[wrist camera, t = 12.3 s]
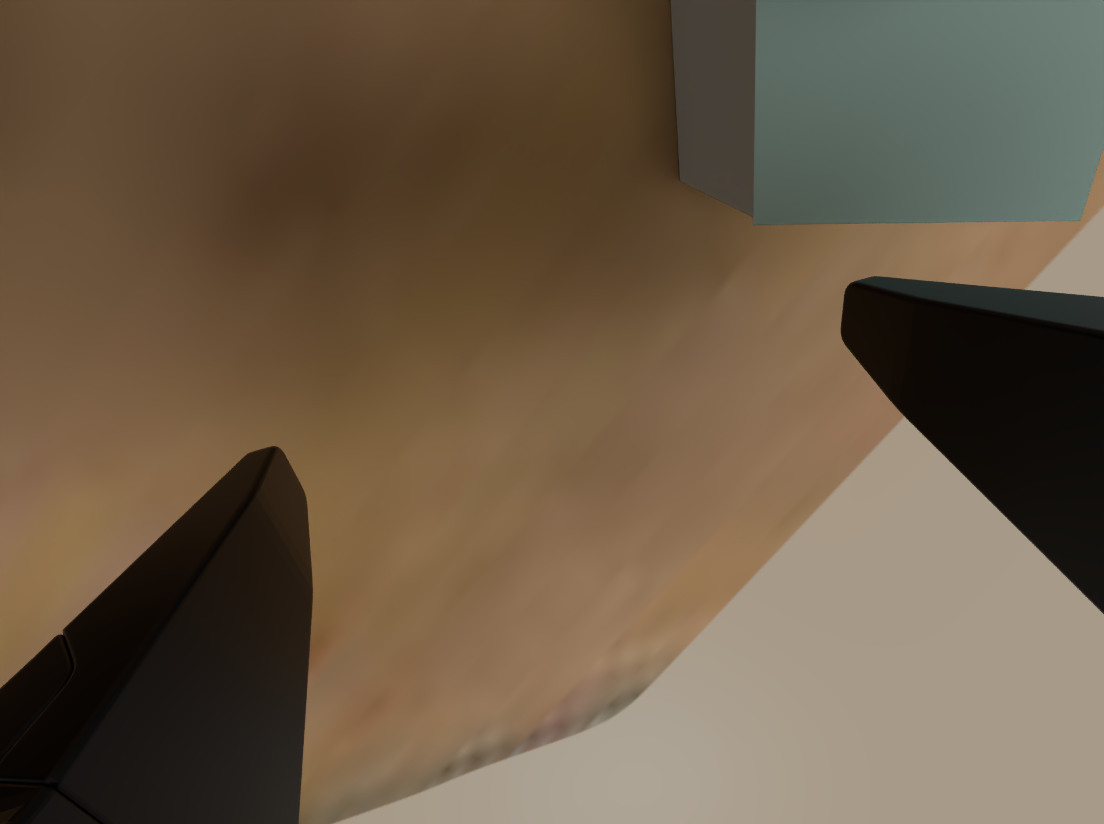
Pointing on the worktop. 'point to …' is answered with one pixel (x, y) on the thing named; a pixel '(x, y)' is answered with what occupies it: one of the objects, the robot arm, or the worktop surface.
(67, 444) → the worktop surface
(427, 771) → the worktop surface
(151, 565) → the robot arm
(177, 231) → the worktop surface
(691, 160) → the carton
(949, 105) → the near flap
